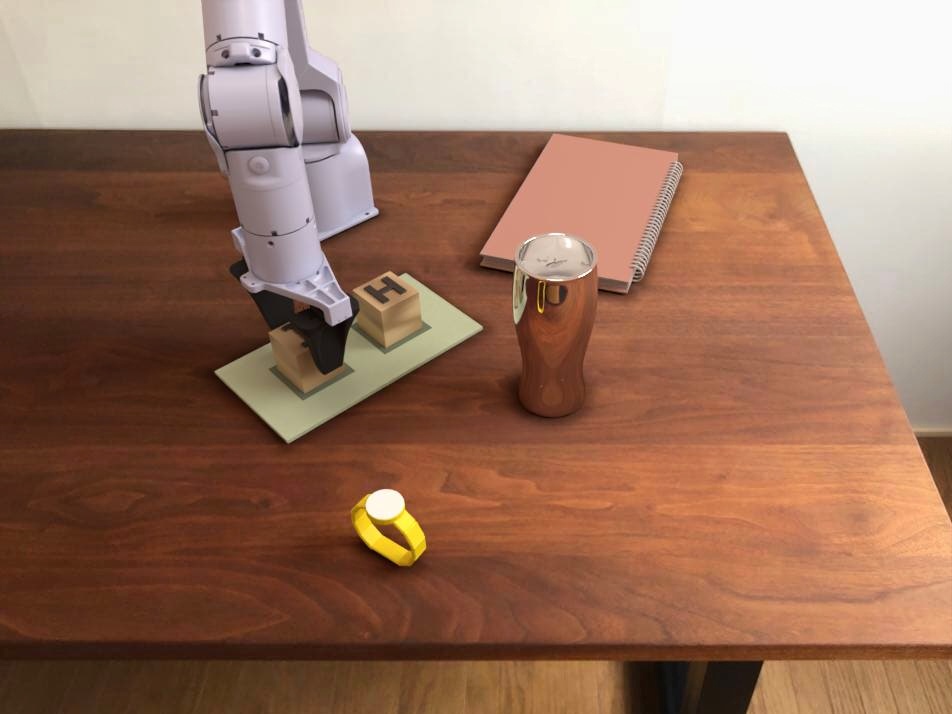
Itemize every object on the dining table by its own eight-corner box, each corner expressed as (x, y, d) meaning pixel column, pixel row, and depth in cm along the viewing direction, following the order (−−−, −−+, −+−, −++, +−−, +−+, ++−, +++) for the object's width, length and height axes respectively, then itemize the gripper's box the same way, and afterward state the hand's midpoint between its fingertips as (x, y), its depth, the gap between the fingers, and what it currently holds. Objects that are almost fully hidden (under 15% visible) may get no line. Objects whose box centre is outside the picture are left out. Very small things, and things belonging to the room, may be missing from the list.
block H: (394, 307, 88) (389, 268, 85) (422, 327, 86) (418, 289, 83) (358, 326, 86) (351, 288, 83) (385, 348, 84) (380, 309, 80)
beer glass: (501, 379, 81) (498, 241, 71) (570, 360, 83) (577, 223, 73) (531, 430, 77) (532, 290, 66) (603, 408, 79) (616, 269, 68)
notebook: (637, 297, 90) (638, 281, 89) (480, 267, 94) (479, 251, 92) (685, 167, 109) (687, 152, 108) (553, 145, 112) (553, 131, 111)
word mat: (406, 275, 93) (405, 272, 92) (482, 329, 86) (482, 325, 86) (215, 374, 82) (213, 370, 81) (287, 444, 75) (286, 440, 75)
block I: (318, 347, 84) (309, 309, 80) (345, 370, 81) (338, 332, 78) (277, 369, 81) (267, 330, 78) (304, 393, 79) (295, 354, 76)
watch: (349, 548, 68) (337, 498, 64) (372, 523, 70) (362, 473, 65) (412, 583, 66) (404, 534, 61) (434, 557, 67) (428, 507, 63)
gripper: (184, 198, 72) (224, 329, 81) (284, 277, 64) (315, 410, 74) (261, 167, 75) (290, 296, 85) (363, 239, 68) (383, 371, 77)
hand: (306, 347), depth 80 cm, fingers open, 7 cm apart
